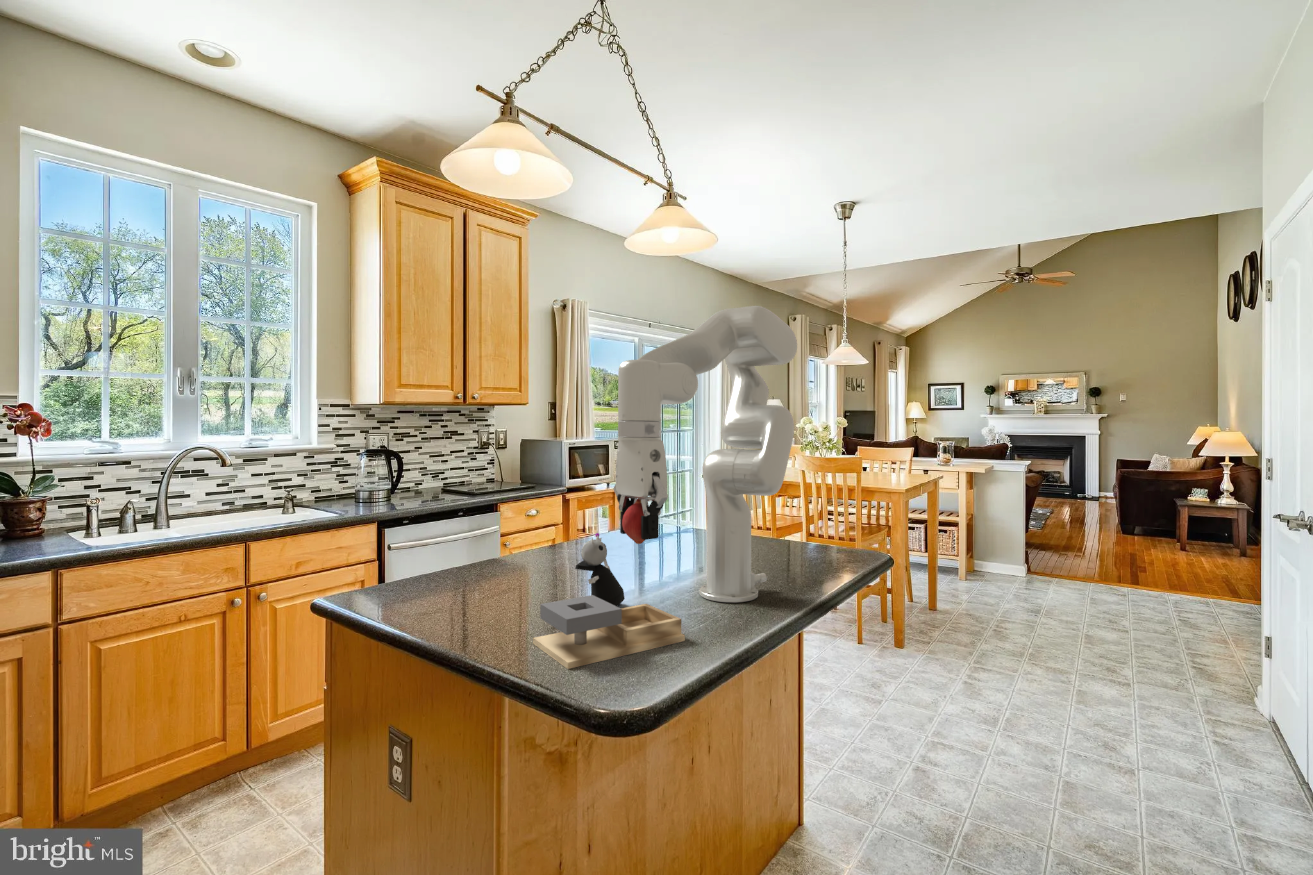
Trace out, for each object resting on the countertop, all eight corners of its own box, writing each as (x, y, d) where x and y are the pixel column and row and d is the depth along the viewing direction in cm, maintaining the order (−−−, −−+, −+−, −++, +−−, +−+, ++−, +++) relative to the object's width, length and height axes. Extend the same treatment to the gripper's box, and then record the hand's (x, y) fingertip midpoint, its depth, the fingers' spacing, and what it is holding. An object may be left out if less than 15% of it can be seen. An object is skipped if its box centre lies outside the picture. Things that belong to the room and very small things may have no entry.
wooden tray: (643, 620, 116) (643, 591, 116) (684, 640, 106) (684, 608, 106) (533, 643, 104) (533, 611, 104) (567, 669, 93) (567, 632, 93)
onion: (617, 542, 109) (617, 496, 109) (647, 539, 111) (647, 495, 111) (629, 548, 104) (629, 500, 104) (660, 545, 106) (661, 499, 106)
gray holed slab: (592, 608, 108) (592, 595, 108) (621, 623, 100) (621, 608, 100) (540, 618, 103) (540, 603, 103) (566, 634, 95) (566, 619, 95)
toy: (619, 614, 117) (595, 538, 117) (586, 623, 118) (562, 548, 119) (633, 597, 128) (612, 528, 129) (603, 606, 129) (582, 537, 130)
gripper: (687, 432, 102) (686, 541, 103) (631, 431, 116) (630, 527, 117) (649, 432, 98) (648, 546, 98) (596, 431, 112) (595, 530, 112)
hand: (638, 534), depth 108 cm, fingers closed on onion, 5 cm apart
